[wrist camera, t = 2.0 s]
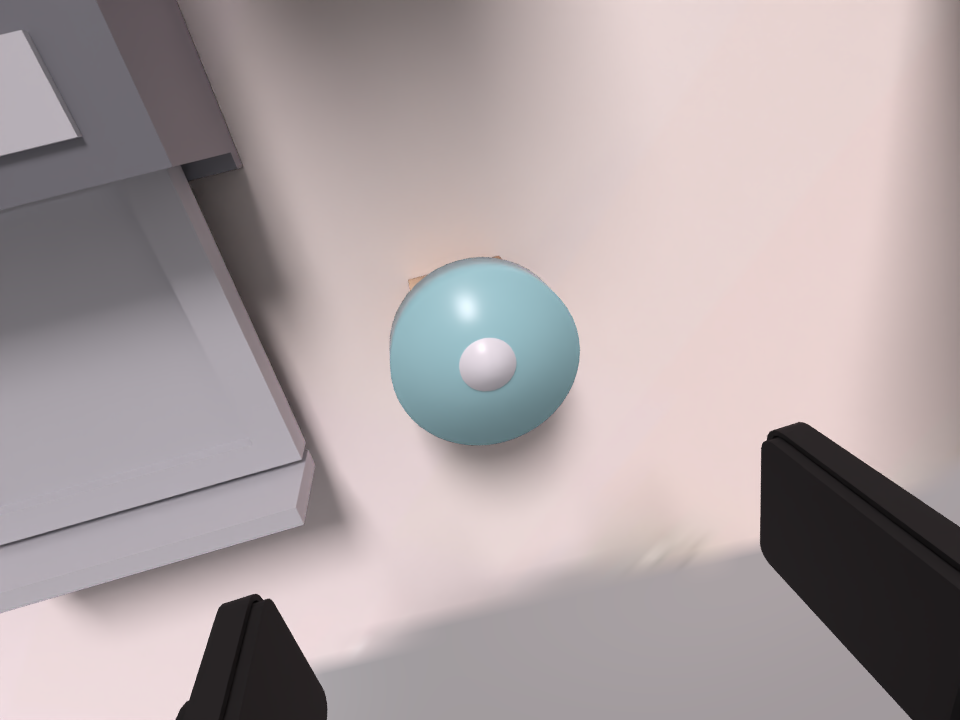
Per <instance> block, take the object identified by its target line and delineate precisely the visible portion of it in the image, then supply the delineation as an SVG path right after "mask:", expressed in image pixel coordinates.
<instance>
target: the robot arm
mask: <svg viewBox="0 0 960 720" xmlns="http://www.w3.org/2000/svg"><path fill="white" fill-rule="evenodd" d="M760 546H761V550H762V552H763V555H764V557H765V558H766V560H767V561H768V563H769V564H770V565H771V566H772V567H773V568H774V569H775V571H776V572H777V573H778V574H779V575H780V576H781V577H782V578H783V579H784V580H785V581H786V582H787V584H788V585H789V586H790V587H791V588H792V589H793V590H794V591H795V592H796V593H797V595H798V596H799V597H800V598H801V599H802V600H803V601H804V602H805V603H806V604H807V605H808V607H809V608H810V609H811V610H812V611H813V612H814V613H815V614H816V615H817V616H818V617H819V618H820V620H821V621H822V622H823V623H824V624H825V625H826V626H827V627H828V628H829V629H830V630H831V632H832V633H833V634H834V635H835V636H836V637H837V638H838V639H839V640H840V641H841V642H842V644H843V645H844V646H845V647H846V648H847V649H848V650H849V651H850V652H851V653H852V654H853V656H854V657H855V658H856V659H857V660H858V661H859V662H860V663H861V664H862V665H863V666H864V667H865V669H866V670H867V671H868V672H869V673H870V674H871V675H872V676H873V677H874V678H875V680H876V681H877V682H878V683H879V684H880V685H881V686H882V687H883V688H884V689H885V690H886V692H887V693H888V694H889V695H890V696H891V697H892V698H893V699H894V700H895V701H896V702H897V704H898V705H899V706H900V707H901V708H902V709H903V710H904V711H905V712H906V713H907V714H908V715H909V717H910V718H911V719H912V720H960V527H959V526H958V525H956V524H955V523H953V522H952V521H950V520H949V519H947V518H946V517H944V516H943V515H941V514H940V513H938V512H937V511H935V510H934V509H932V508H931V507H929V506H928V505H926V504H925V503H923V502H922V501H921V500H919V499H918V498H916V497H915V496H913V495H912V494H910V493H909V492H907V491H906V490H904V489H903V488H901V487H900V486H898V485H897V484H895V483H894V482H892V481H891V480H889V479H888V478H887V477H885V476H884V475H882V474H881V473H879V472H878V471H876V470H875V469H873V468H872V467H870V466H869V465H867V464H866V463H864V462H863V461H861V460H860V459H858V458H857V457H855V456H854V455H852V454H851V453H849V452H848V451H847V450H845V449H844V448H842V447H841V446H839V445H838V444H836V443H835V442H833V441H832V440H830V439H829V438H827V437H826V436H824V435H823V434H821V433H820V432H818V431H817V430H815V429H814V428H812V427H811V426H810V425H808V424H806V423H803V422H798V423H795V424H792V425H788V426H785V427H782V428H779V429H776V430H773V431H770V432H769V434H768V436H767V441H765V442H763V444H762V447H761V517H760ZM176 720H327V701H326V696H325V692H324V690H323V688H322V686H321V685H320V683H319V681H318V679H317V678H316V676H315V674H314V672H313V671H312V669H311V667H310V665H309V664H308V662H307V660H306V658H305V657H304V655H303V653H302V651H301V649H300V648H299V646H298V644H297V642H296V641H295V639H294V637H293V635H292V634H291V632H290V630H289V628H288V627H287V625H286V623H285V621H284V620H283V618H282V616H281V614H280V613H279V611H278V609H277V607H276V606H275V604H274V602H273V601H272V600H271V599H265V600H263V599H262V598H261V597H260V595H258V594H253V595H249V596H246V597H243V598H240V599H237V600H234V601H230V602H227V603H224V604H222V605H221V606H220V607H219V609H218V611H217V614H216V617H215V620H214V623H213V627H212V630H211V633H210V636H209V639H208V643H207V646H206V649H205V652H204V655H203V658H202V662H201V665H200V668H199V671H198V674H197V677H196V681H195V684H194V687H193V690H192V693H191V696H190V700H189V701H187V702H186V703H185V704H184V705H183V707H182V708H181V709H180V711H179V713H178V716H177V718H176Z"/></svg>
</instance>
